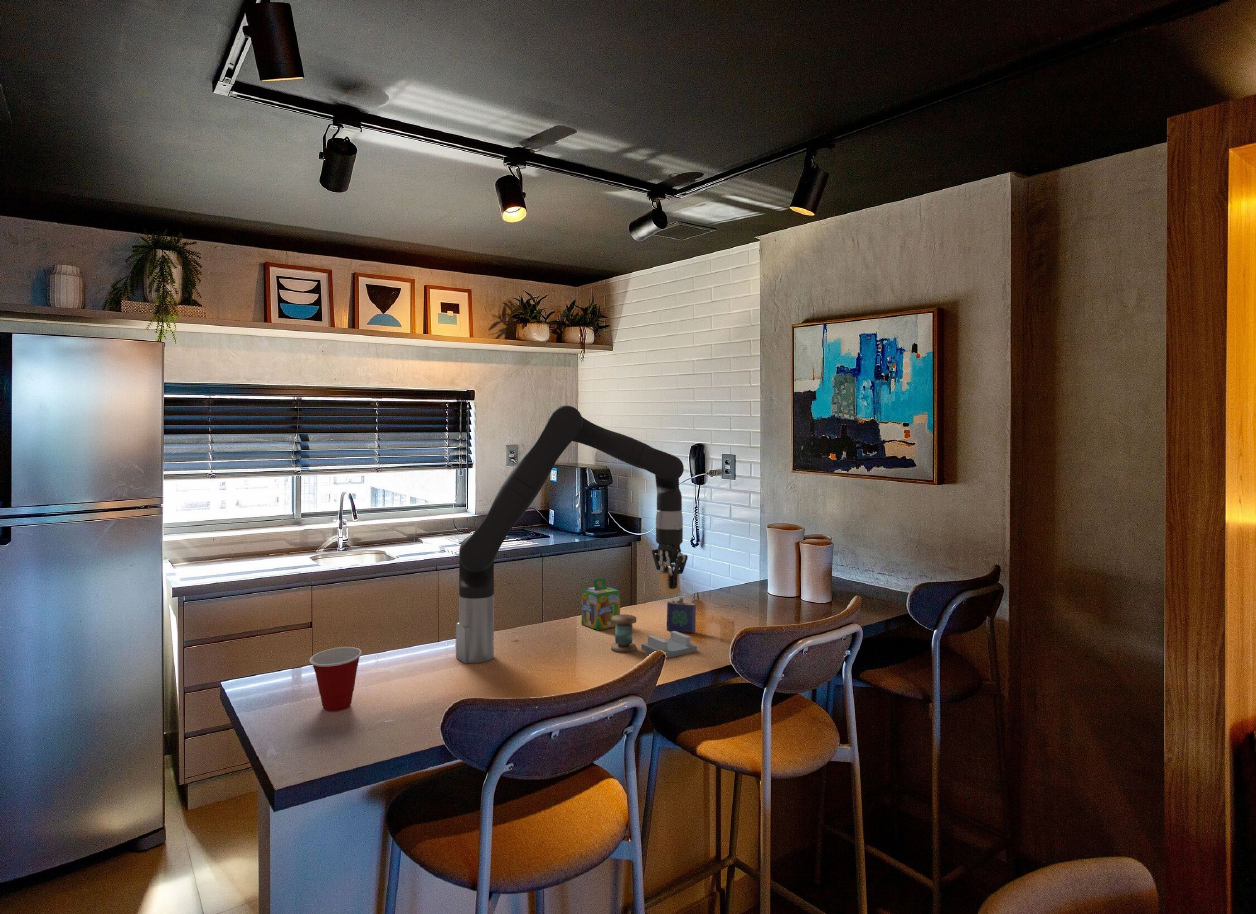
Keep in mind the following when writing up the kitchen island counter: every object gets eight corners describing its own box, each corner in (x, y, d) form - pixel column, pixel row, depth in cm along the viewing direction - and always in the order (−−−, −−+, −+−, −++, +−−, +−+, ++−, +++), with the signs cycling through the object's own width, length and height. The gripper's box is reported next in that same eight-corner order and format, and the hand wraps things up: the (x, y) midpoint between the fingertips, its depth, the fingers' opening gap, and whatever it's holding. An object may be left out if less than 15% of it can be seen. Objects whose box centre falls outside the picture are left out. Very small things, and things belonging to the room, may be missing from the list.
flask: (696, 632, 228) (696, 597, 227) (693, 634, 225) (694, 599, 225) (668, 628, 231) (668, 594, 231) (664, 631, 229) (665, 596, 228)
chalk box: (597, 631, 227) (598, 583, 227) (580, 624, 234) (580, 578, 234) (621, 626, 233) (621, 579, 233) (603, 620, 240) (603, 574, 240)
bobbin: (620, 654, 205) (620, 622, 204) (606, 647, 210) (606, 616, 210) (640, 650, 209) (641, 618, 208) (626, 643, 215) (626, 613, 214)
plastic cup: (300, 707, 164) (300, 653, 164) (347, 694, 172) (347, 643, 172) (323, 720, 157) (323, 664, 156) (371, 706, 165) (371, 653, 164)
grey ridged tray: (663, 658, 201) (663, 644, 201) (641, 649, 210) (641, 635, 209) (696, 651, 208) (697, 637, 208) (674, 642, 217) (674, 629, 216)
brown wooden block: (666, 595, 206) (665, 574, 205) (659, 593, 208) (658, 572, 208) (680, 592, 208) (679, 571, 208) (673, 590, 211) (672, 569, 211)
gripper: (643, 524, 211) (643, 584, 212) (674, 530, 199) (674, 593, 200) (664, 522, 215) (664, 581, 216) (695, 527, 204) (695, 590, 205)
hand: (669, 587), depth 208 cm, fingers closed on brown wooden block, 2 cm apart
